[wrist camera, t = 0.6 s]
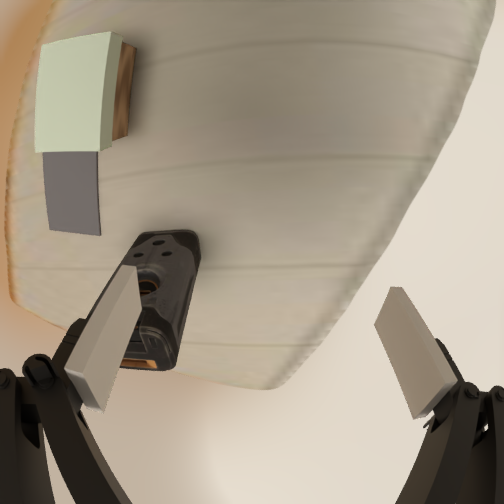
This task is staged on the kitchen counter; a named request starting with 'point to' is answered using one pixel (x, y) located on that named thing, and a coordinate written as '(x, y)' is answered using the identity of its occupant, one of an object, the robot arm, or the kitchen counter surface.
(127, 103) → the crate
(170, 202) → the kitchen counter surface
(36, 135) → the block
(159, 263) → the electronic device
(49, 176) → the mat
